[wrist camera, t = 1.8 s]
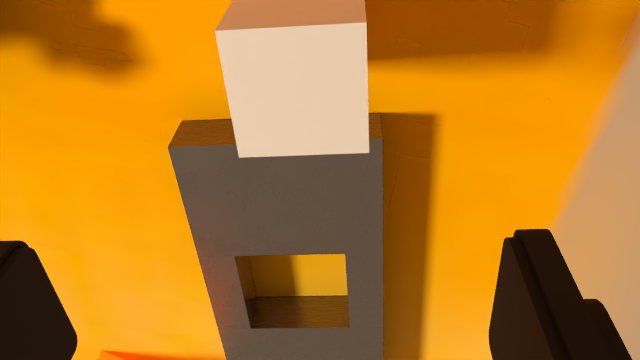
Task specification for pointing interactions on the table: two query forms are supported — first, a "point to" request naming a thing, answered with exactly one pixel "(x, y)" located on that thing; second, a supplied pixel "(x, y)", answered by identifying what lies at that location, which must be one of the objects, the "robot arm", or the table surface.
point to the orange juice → (107, 356)
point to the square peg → (296, 76)
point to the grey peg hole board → (285, 241)
